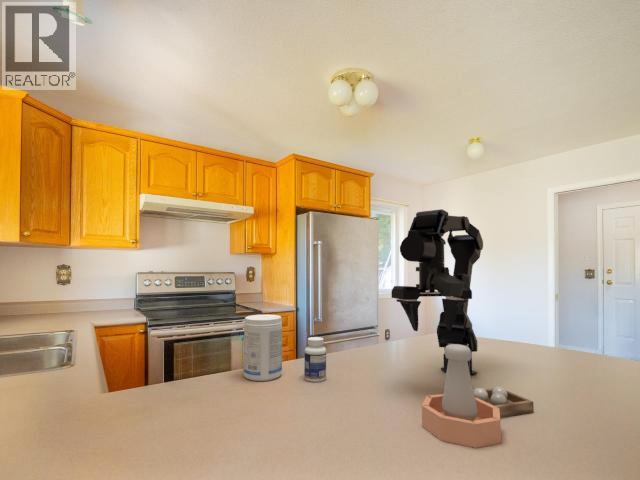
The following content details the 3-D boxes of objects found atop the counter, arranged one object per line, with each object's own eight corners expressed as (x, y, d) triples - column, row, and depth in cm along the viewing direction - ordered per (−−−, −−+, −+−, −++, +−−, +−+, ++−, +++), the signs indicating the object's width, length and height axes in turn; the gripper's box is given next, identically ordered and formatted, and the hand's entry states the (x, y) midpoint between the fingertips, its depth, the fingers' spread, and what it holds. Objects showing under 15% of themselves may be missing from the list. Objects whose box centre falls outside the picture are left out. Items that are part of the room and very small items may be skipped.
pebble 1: (480, 399, 69) (480, 385, 69) (491, 404, 67) (491, 389, 67) (469, 400, 68) (469, 386, 69) (480, 406, 66) (480, 391, 66)
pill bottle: (303, 375, 85) (304, 336, 86) (324, 375, 86) (325, 336, 87) (304, 382, 80) (305, 340, 81) (327, 382, 81) (327, 340, 81)
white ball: (499, 397, 70) (499, 384, 70) (511, 403, 67) (510, 388, 68) (489, 399, 69) (488, 385, 69) (500, 404, 67) (499, 390, 67)
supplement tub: (277, 368, 91) (278, 313, 92) (286, 379, 82) (287, 318, 83) (240, 372, 88) (242, 314, 89) (245, 384, 79) (247, 320, 80)
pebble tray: (499, 397, 72) (499, 387, 72) (533, 412, 64) (533, 401, 65) (461, 402, 69) (461, 392, 69) (492, 419, 61) (492, 408, 61)
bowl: (463, 409, 65) (463, 391, 66) (518, 439, 54) (517, 416, 54) (410, 417, 62) (410, 398, 62) (456, 451, 50) (456, 427, 51)
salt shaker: (460, 413, 62) (458, 340, 63) (486, 426, 57) (483, 347, 58) (434, 418, 60) (433, 343, 61) (458, 432, 54) (456, 350, 56)
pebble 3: (498, 404, 67) (498, 389, 67) (510, 410, 64) (510, 394, 64) (487, 406, 66) (487, 391, 66) (499, 411, 63) (498, 396, 63)
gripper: (418, 261, 69) (419, 338, 68) (489, 263, 75) (491, 334, 74) (390, 262, 80) (390, 329, 78) (454, 263, 86) (456, 326, 84)
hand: (432, 330), depth 78 cm, fingers open, 9 cm apart
